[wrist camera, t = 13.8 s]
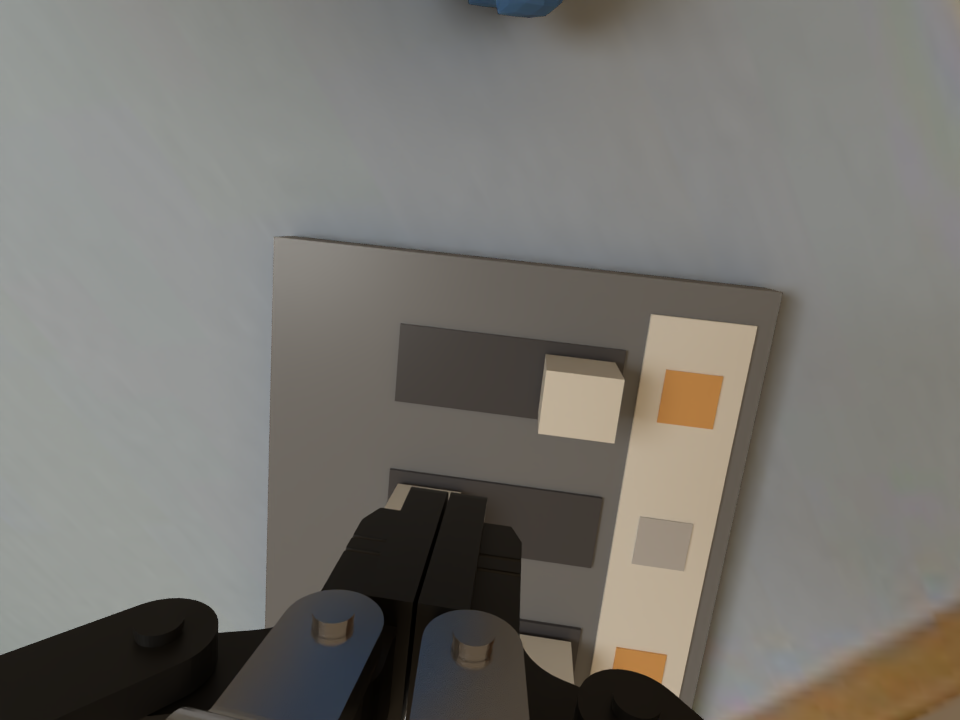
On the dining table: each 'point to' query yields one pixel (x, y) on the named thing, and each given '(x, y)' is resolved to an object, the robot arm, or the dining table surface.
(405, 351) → the switch panel
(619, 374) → the switch
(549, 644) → the switch
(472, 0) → the grapes
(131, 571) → the dining table surface
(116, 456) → the dining table surface
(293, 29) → the dining table surface
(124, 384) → the dining table surface
